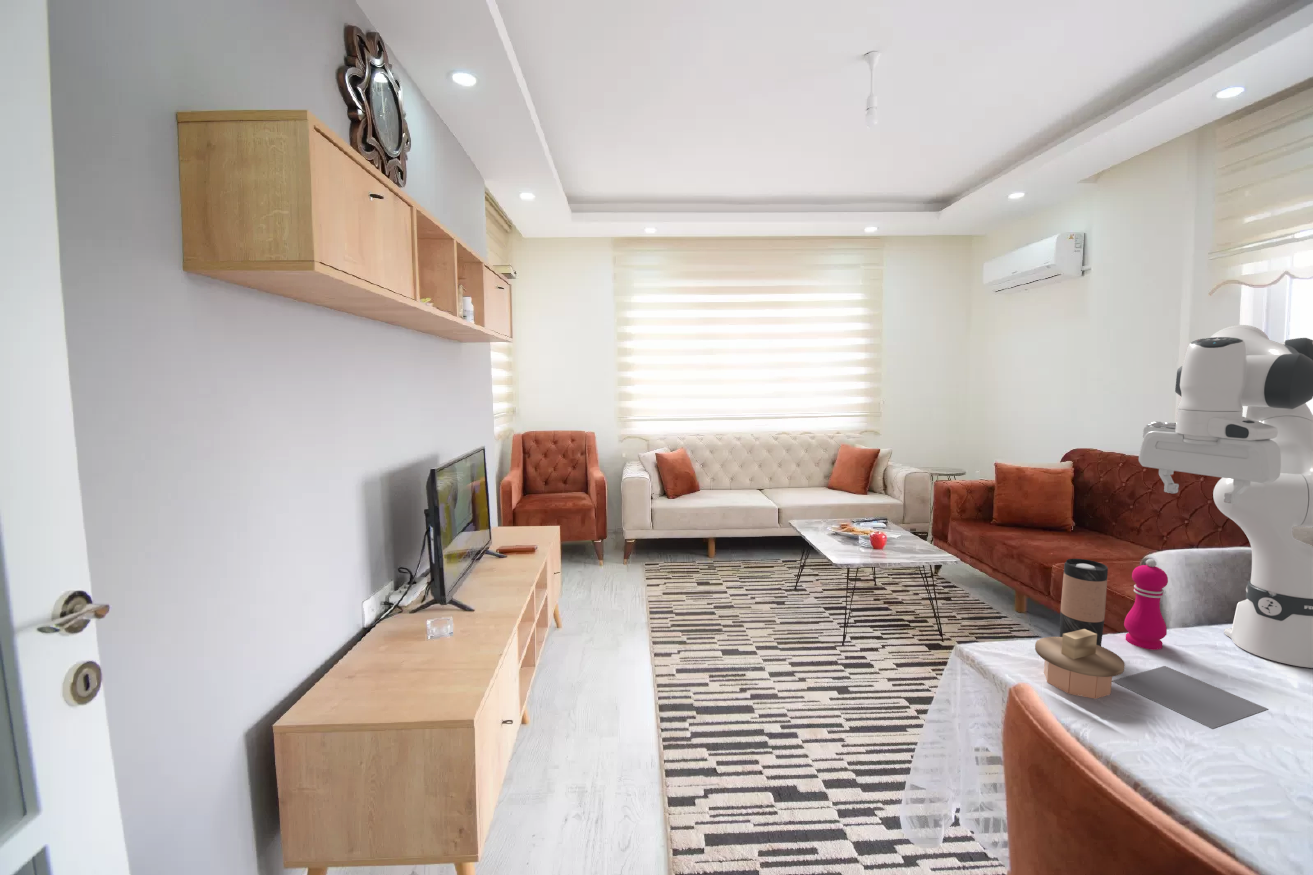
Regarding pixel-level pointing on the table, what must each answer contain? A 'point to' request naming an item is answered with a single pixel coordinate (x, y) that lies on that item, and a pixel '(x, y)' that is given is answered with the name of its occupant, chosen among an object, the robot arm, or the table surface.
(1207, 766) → the table surface
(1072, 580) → the travel mug
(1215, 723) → the mat
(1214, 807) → the table surface
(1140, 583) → the pepper mill
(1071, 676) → the bowl
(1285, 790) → the table surface
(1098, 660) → the lid
